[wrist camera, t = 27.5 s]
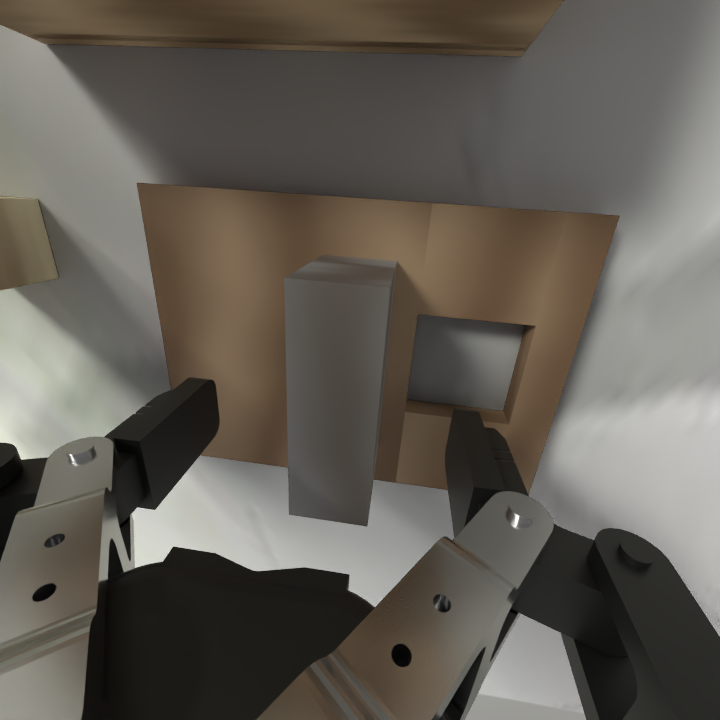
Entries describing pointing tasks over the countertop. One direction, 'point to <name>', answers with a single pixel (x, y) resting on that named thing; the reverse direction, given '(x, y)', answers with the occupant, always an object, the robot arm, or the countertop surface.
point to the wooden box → (288, 24)
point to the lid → (360, 325)
